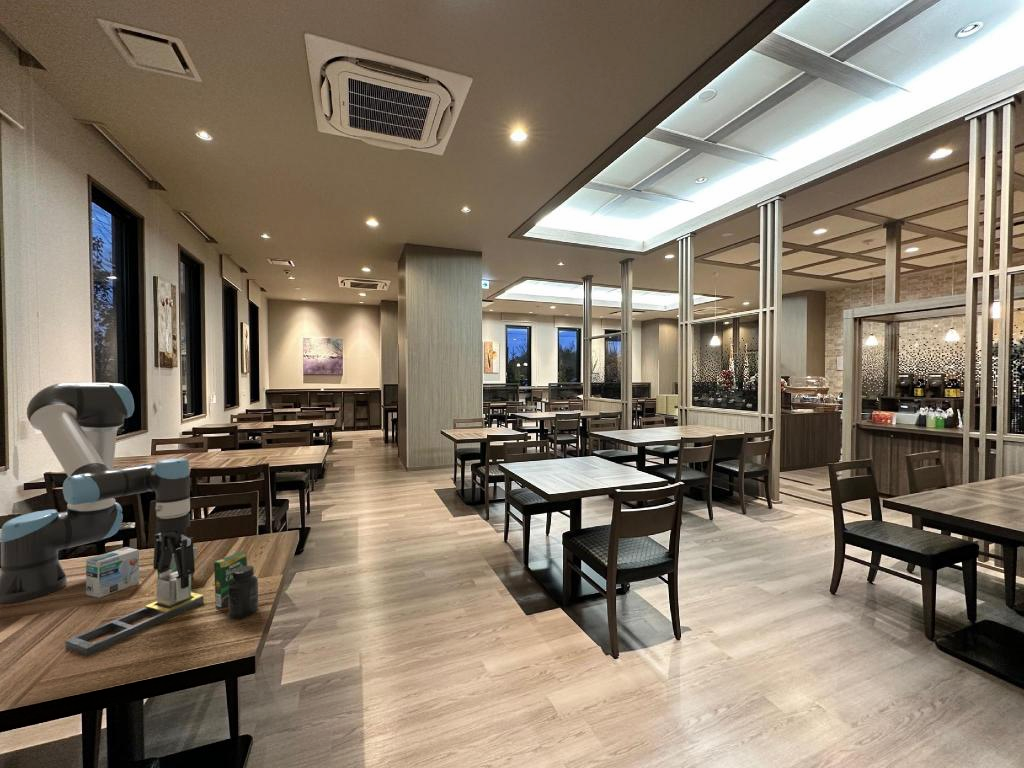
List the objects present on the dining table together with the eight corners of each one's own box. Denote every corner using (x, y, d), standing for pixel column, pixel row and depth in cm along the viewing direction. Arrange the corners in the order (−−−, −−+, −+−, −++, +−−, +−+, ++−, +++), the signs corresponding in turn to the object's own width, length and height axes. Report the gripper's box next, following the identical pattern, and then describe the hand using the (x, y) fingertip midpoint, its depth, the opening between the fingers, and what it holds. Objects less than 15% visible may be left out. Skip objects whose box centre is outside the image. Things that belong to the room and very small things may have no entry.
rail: (65, 647, 102) (65, 639, 102) (183, 597, 126) (183, 590, 126) (86, 656, 99) (86, 647, 99) (203, 602, 123) (203, 595, 123)
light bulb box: (99, 598, 126) (98, 562, 126) (84, 595, 128) (84, 559, 129) (140, 582, 136) (140, 548, 136) (126, 579, 139) (126, 546, 139)
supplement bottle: (254, 604, 122) (253, 561, 122) (261, 612, 117) (261, 568, 117) (225, 613, 117) (225, 569, 117) (232, 623, 112) (232, 577, 112)
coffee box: (220, 610, 119) (220, 562, 119) (214, 608, 120) (213, 561, 120) (248, 596, 126) (248, 552, 126) (242, 594, 127) (241, 550, 127)
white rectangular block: (157, 611, 119) (156, 578, 119) (178, 602, 124) (178, 570, 124) (169, 615, 117) (169, 581, 117) (191, 605, 122) (190, 573, 122)
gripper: (136, 515, 120) (137, 597, 120) (181, 522, 113) (182, 609, 113) (166, 507, 127) (166, 585, 127) (210, 514, 120) (211, 596, 120)
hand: (174, 596), depth 120 cm, fingers open, 7 cm apart
